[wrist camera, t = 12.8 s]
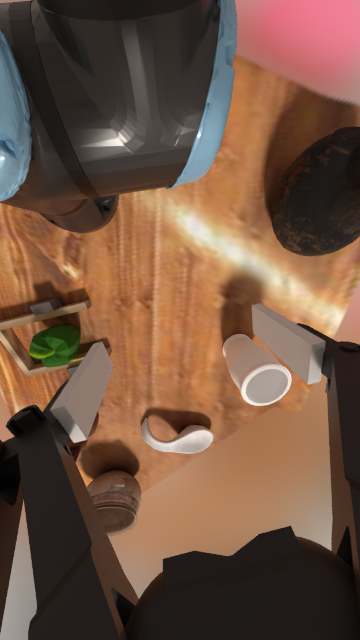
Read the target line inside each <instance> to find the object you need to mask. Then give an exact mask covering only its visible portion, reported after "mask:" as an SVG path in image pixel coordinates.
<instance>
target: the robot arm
mask: <svg viewBox="0 0 360 640" xmlns="http://www.w3.org/2000/svg"><path fill="white" fill-rule="evenodd" d="M236 47H237V14H236V6H235V0H31V1H22V2H12V3H0V203H4V204H7V205H11V206H15V207H19V208H23V209H27V210H31V211H35V212H39V213H40V214H41V215H42V216H43V217H44V218H45V219H47V220H48V221H49V222H51V223H52V224H54V225H56V226H58V227H60V228H62V229H64V230H68V231H72V232H78V233H90V232H94V231H97V230H99V229H101V228H103V227H104V226H105V225H106V224H108V223H109V221H110V220H111V219H112V217H113V216H114V214H115V212H116V209H117V205H118V200H119V194H123V193H130V192H137V191H143V190H150V189H157V188H163V187H165V188H166V189H172V188H174V187H176V186H178V185H182V184H186V183H191V182H195V181H198V180H199V179H201V178H202V177H203V176H204V175H205V174H206V173H207V172H208V171H209V169H210V167H211V166H212V164H213V162H214V160H215V158H216V155H217V153H218V150H219V147H220V144H221V141H222V138H223V134H224V130H225V126H226V122H227V117H228V113H229V108H230V102H231V96H232V90H233V82H234V72H235V70H234V68H233V66H232V63H233V59H234V55H235V51H236ZM252 322H253V333H254V334H255V335H256V336H257V337H258V338H259V339H260V340H261V341H262V342H263V343H264V344H265V345H266V346H267V347H269V348H270V349H271V350H272V351H273V352H274V353H275V354H276V355H277V356H278V357H279V358H280V359H281V360H282V361H283V362H284V363H285V364H286V365H288V366H289V367H290V368H291V369H292V370H293V371H294V372H295V373H296V374H297V375H298V376H299V377H300V378H301V379H302V380H303V381H304V382H306V383H307V384H312V383H316V382H320V381H321V374H323V375H325V376H326V377H327V378H328V379H327V384H326V391H325V392H326V393H327V399H328V422H329V445H330V467H331V489H332V513H333V525H332V551H330V550H328V549H327V548H325V547H323V546H322V545H320V544H318V543H316V542H313V541H311V540H308V539H305V538H302V537H296V536H295V534H294V532H293V530H292V528H291V526H288V527H285V528H281V529H277V530H273V531H269V532H266V533H262V534H259V535H258V536H256V537H255V538H254V539H253V540H251V541H250V542H249V543H247V544H246V545H245V546H244V547H242V548H241V549H240V550H238V551H237V552H236V553H235V554H233V555H231V556H222V555H216V554H211V553H205V552H199V551H192V552H188V553H184V554H180V555H177V556H173V557H169V558H165V559H163V572H161V573H160V574H159V575H158V576H157V577H156V578H155V579H154V580H153V581H152V582H151V583H150V585H149V586H148V587H147V588H146V590H145V591H144V593H143V594H142V596H141V597H140V599H138V597H137V595H136V593H135V591H134V589H133V587H132V585H131V584H130V582H129V581H128V579H127V577H126V576H125V574H124V572H123V569H122V567H121V565H120V563H119V560H118V558H117V556H116V554H115V551H114V549H113V547H112V545H111V542H110V540H109V538H108V535H107V533H106V531H105V529H104V526H103V524H102V522H101V520H100V517H99V515H98V513H97V510H96V508H95V506H94V504H93V501H92V499H91V497H90V495H89V492H88V490H87V488H86V485H85V483H84V481H83V479H82V476H81V474H80V472H79V470H78V467H77V465H76V463H75V461H74V458H73V456H72V454H71V451H70V449H69V447H68V446H67V444H66V442H67V440H68V438H69V437H70V438H71V440H72V441H73V442H74V443H76V442H80V441H84V440H87V438H88V436H89V433H90V430H91V428H92V425H93V422H94V420H95V417H96V414H97V412H98V409H99V406H100V403H101V401H102V398H103V395H104V393H105V390H106V387H107V385H108V382H109V379H110V376H111V374H112V371H113V368H114V366H113V364H112V362H111V360H110V357H109V355H108V353H107V351H106V349H105V346H104V344H103V342H99V343H94V344H93V345H92V347H91V348H90V350H89V351H88V353H87V354H86V356H85V357H84V359H83V360H82V362H81V363H80V365H79V366H78V368H77V369H76V371H75V372H74V374H73V375H72V377H71V378H70V380H68V381H66V382H65V383H64V384H63V385H62V386H61V387H60V388H59V389H58V391H57V392H56V394H55V395H54V396H53V398H52V400H51V401H50V402H49V404H48V405H47V407H46V408H45V409H44V411H43V412H42V411H41V410H40V409H39V407H38V406H37V405H31V406H28V407H26V408H24V409H22V410H20V411H19V412H17V413H16V414H15V415H14V416H13V417H12V418H10V420H9V421H8V422H7V425H6V427H7V428H8V429H9V430H10V432H11V433H12V434H13V435H14V436H15V437H13V438H11V439H9V440H7V441H5V442H2V441H1V440H0V632H1V626H2V620H3V615H4V609H5V603H6V597H7V591H8V586H9V580H10V574H11V568H12V562H13V557H14V551H15V545H16V540H17V534H18V528H19V522H20V517H21V511H22V505H23V499H24V504H25V512H26V520H27V528H28V535H29V544H30V551H31V559H32V568H33V575H34V583H35V591H36V599H37V611H36V614H35V615H34V617H33V618H32V620H31V622H30V626H29V631H28V640H360V345H358V344H356V343H352V342H342V341H341V342H337V341H335V340H333V339H331V338H329V337H328V336H326V335H324V334H322V333H320V332H319V331H317V330H314V329H313V328H311V327H309V326H307V325H304V324H300V323H298V324H295V323H293V322H292V321H290V320H288V319H286V318H285V317H283V316H281V315H280V314H278V313H276V312H274V311H273V310H271V309H269V308H268V307H266V306H264V305H262V304H261V303H259V304H255V305H252Z"/></svg>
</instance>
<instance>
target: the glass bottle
mask: <svg viewBox="0 0 360 640" xmlns="http://www.w3.org/2000/svg"><path fill="white" fill-rule="evenodd" d="M271 220H272V227H273V230H274V233H275V235H276V237H277V239H278V241H279V242H280V243H281V245H282V246H283V248H285V249H287V250H289V251H291V252H293V253H296V254H298V255H303V256H321V255H325V254H329V253H332V252H335V251H337V250H340V249H342V248H344V247H346V246H347V245H349V244H350V243H352V242H353V241H355V240H356V239H357V238H358V237H360V127H344V128H341V129H338V130H337V131H335V132H334V133H333V134H330V135H328V136H326V137H324V138H322V139H320V140H318V141H317V142H315V143H314V144H312V145H311V146H310V147H308V148H307V149H306V150H305V151H304V152H303V153H302V154H300V156H299V157H297V159H296V160H295V161H294V162H293V163H292V164H291V166H290V167H289V168H288V170H287V171H286V173H285V174H284V176H283V177H282V179H281V181H280V183H279V185H278V187H277V190H276V192H275V195H274V199H273V203H272V209H271Z"/></svg>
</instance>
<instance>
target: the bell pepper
mask: <svg viewBox="0 0 360 640" xmlns="http://www.w3.org/2000/svg"><path fill="white" fill-rule="evenodd" d="M80 338H81V334H80V332H79V331H78V329H77V328H75V327H73V326H72V325H61V326H59V325H57V326H54V327H51V328H48V329H46V330H43V331H41V332H39V333H38V334H36V335H35V336H33V339H32V341H31V345H30V350H29V353H28V354H29V355H31V356H32V357H34V358H35V359H41V360H42V363H43V364H44V365H45V366H46V367H47V368H50V367H58V366H63V365H66V364H69V363H70V362H71V361H72V359H73V358H74V357H75V356H76V354H77V353H78V349H79V345H80Z"/></svg>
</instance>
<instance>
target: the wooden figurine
mask: <svg viewBox="0 0 360 640" xmlns="http://www.w3.org/2000/svg"><path fill="white" fill-rule="evenodd" d="M98 418H99V413H98V412H97V414H96V417H95V420H94V422H93V425H92V428H91V430H90V433H89V436H91V435H92V434H93V433H94V432H95V430H96V427H97V424H98ZM89 436H88V437H89ZM87 441H88V438H87V440H84V441H80V442H76V443H74V442H73V441H72V440H71V438H70V437H69V438H68V440H67V442H66V444H67V446H68V447H69V449H70V451H71V454H72V456H73V457H74V461H75V463H76V460H77V458H78V455H79V453H80V452H81V451H82V450H83V449H84V448H85V446H86V444H87Z"/></svg>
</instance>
